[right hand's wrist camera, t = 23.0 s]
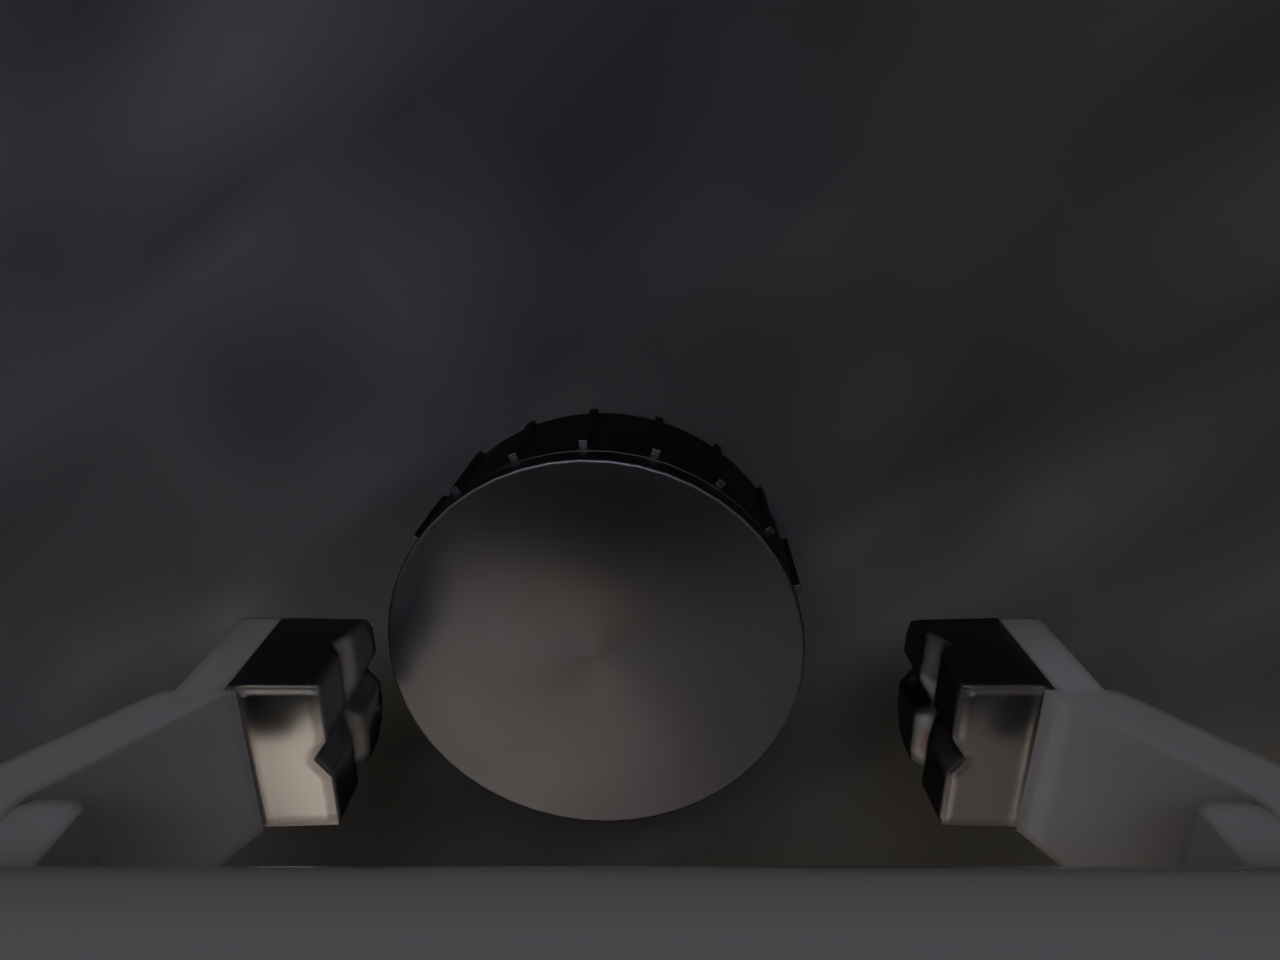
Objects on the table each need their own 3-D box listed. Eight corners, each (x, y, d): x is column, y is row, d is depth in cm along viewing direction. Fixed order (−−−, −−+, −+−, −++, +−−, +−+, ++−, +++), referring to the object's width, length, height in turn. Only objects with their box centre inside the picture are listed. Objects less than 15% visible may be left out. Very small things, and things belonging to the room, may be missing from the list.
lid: (402, 413, 11) (346, 459, 10) (794, 399, 11) (817, 444, 9) (451, 734, 13) (414, 826, 11) (788, 731, 13) (807, 825, 11)
